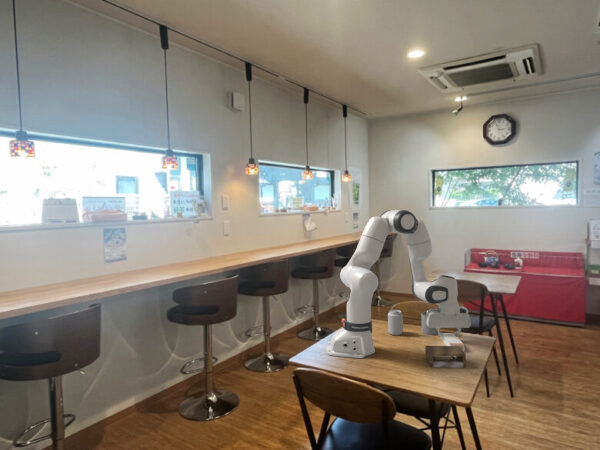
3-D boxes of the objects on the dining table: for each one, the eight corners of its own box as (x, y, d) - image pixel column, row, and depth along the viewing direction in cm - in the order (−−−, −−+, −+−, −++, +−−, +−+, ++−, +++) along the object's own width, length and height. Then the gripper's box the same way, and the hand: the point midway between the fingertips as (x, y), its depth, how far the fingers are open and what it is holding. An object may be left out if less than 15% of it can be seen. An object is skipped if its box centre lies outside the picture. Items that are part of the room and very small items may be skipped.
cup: (424, 329, 204) (424, 310, 204) (440, 331, 200) (440, 312, 199) (419, 333, 198) (419, 314, 197) (435, 336, 193) (435, 316, 192)
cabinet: (430, 367, 156) (430, 354, 156) (425, 358, 166) (425, 345, 166) (466, 367, 155) (466, 354, 155) (458, 358, 164) (458, 346, 164)
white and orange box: (450, 351, 172) (450, 344, 172) (441, 339, 188) (441, 333, 188) (464, 351, 172) (464, 344, 172) (453, 339, 188) (453, 333, 188)
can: (403, 336, 194) (403, 313, 193) (388, 335, 196) (388, 312, 195) (402, 331, 201) (402, 309, 201) (387, 331, 203) (387, 308, 202)
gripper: (427, 310, 184) (428, 338, 184) (471, 310, 182) (471, 338, 182) (424, 306, 190) (425, 334, 191) (467, 306, 188) (467, 334, 189)
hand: (448, 336), depth 187 cm, fingers open, 6 cm apart
